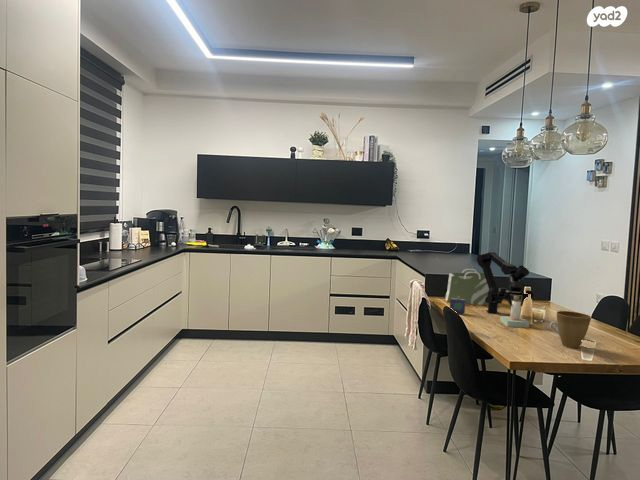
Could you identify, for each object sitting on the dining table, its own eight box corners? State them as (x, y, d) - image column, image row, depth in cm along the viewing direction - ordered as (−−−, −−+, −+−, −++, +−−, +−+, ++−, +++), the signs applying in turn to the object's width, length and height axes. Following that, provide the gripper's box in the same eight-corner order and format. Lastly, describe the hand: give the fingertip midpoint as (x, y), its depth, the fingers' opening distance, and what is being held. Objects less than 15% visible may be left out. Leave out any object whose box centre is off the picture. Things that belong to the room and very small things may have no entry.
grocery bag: (446, 302, 314) (449, 269, 312) (444, 298, 328) (447, 266, 326) (495, 306, 309) (498, 272, 307) (491, 302, 323) (494, 269, 321)
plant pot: (595, 350, 221) (598, 317, 219) (570, 351, 217) (573, 318, 215) (570, 340, 235) (573, 310, 234) (546, 341, 231) (549, 310, 229)
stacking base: (500, 320, 270) (500, 315, 269) (521, 322, 269) (521, 316, 269) (507, 326, 258) (507, 320, 257) (529, 327, 257) (529, 321, 257)
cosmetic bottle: (508, 316, 266) (510, 294, 265) (517, 317, 265) (519, 295, 264) (511, 319, 261) (513, 296, 260) (520, 319, 260) (522, 297, 259)
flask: (464, 313, 285) (465, 296, 284) (465, 314, 282) (466, 297, 281) (449, 312, 285) (450, 295, 284) (450, 313, 282) (451, 296, 282)
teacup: (577, 336, 243) (579, 321, 243) (579, 342, 234) (581, 326, 233) (548, 332, 249) (549, 318, 249) (549, 337, 239) (550, 322, 239)
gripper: (500, 274, 267) (501, 296, 257) (534, 276, 263) (537, 299, 253) (496, 285, 275) (498, 307, 266) (530, 288, 271) (532, 310, 261)
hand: (516, 305), depth 261 cm, fingers open, 5 cm apart
